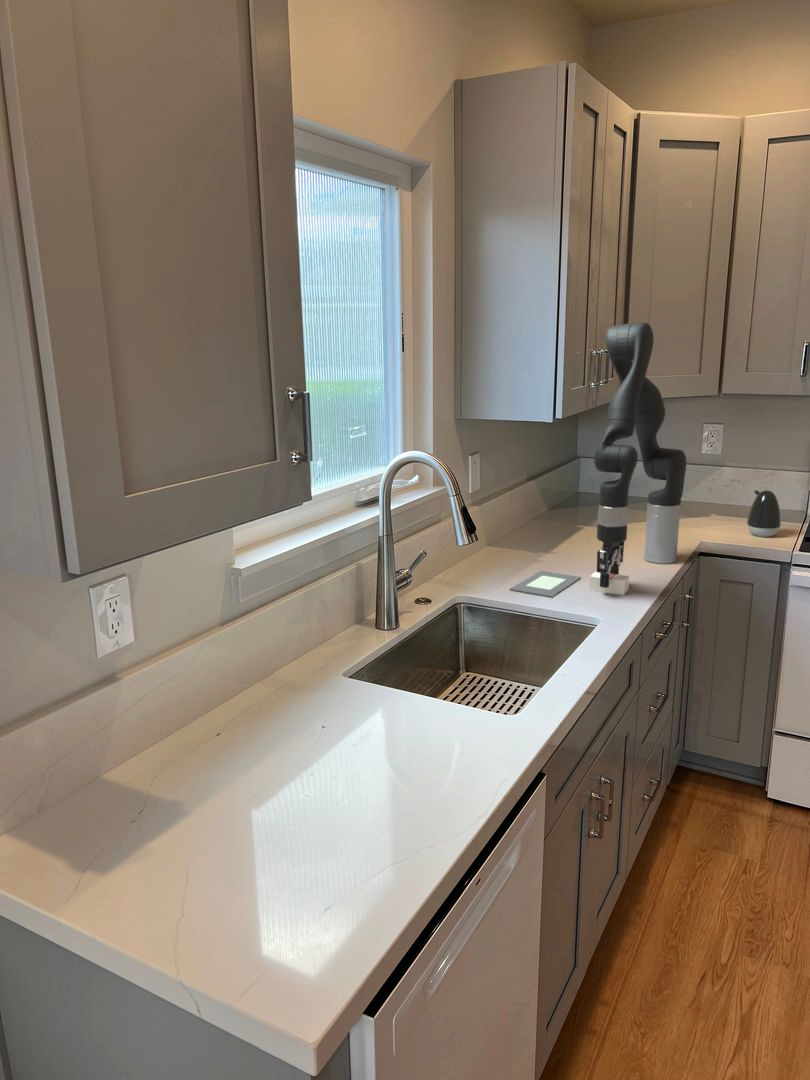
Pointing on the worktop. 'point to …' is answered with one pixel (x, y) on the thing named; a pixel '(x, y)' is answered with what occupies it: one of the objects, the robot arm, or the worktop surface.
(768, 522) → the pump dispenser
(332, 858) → the worktop surface
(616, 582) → the card deck
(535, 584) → the mat
